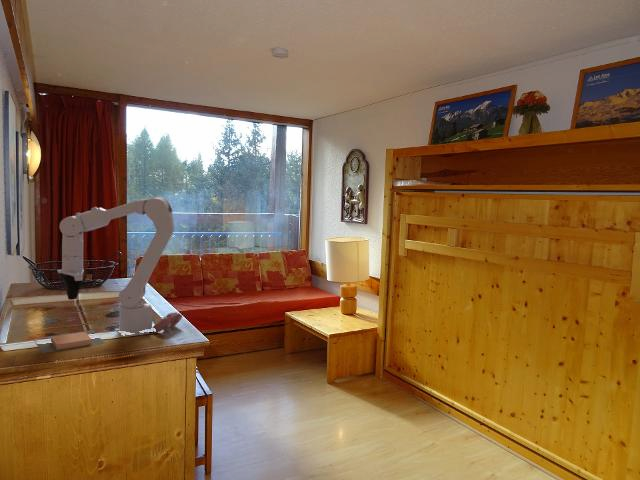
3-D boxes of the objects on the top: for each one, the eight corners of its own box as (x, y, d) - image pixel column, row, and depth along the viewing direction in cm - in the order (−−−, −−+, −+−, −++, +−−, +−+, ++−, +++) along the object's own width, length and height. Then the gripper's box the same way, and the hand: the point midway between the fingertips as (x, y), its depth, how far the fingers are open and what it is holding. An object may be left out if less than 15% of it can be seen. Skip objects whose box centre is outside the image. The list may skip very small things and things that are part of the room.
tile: (84, 332, 139) (91, 339, 134) (84, 337, 139) (91, 344, 134) (50, 336, 133) (56, 344, 128) (50, 342, 133) (56, 350, 128)
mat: (92, 331, 146) (92, 330, 146) (105, 344, 136) (105, 343, 136) (33, 340, 135) (33, 338, 135) (42, 355, 125) (42, 353, 125)
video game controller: (160, 339, 148) (169, 321, 147) (149, 330, 149) (158, 313, 147) (177, 330, 158) (186, 313, 156) (167, 322, 158) (176, 306, 157)
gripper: (52, 252, 144) (52, 294, 146) (64, 260, 133) (63, 306, 135) (77, 251, 149) (76, 292, 151) (90, 259, 138) (89, 303, 140)
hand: (72, 298), depth 143 cm, fingers closed
